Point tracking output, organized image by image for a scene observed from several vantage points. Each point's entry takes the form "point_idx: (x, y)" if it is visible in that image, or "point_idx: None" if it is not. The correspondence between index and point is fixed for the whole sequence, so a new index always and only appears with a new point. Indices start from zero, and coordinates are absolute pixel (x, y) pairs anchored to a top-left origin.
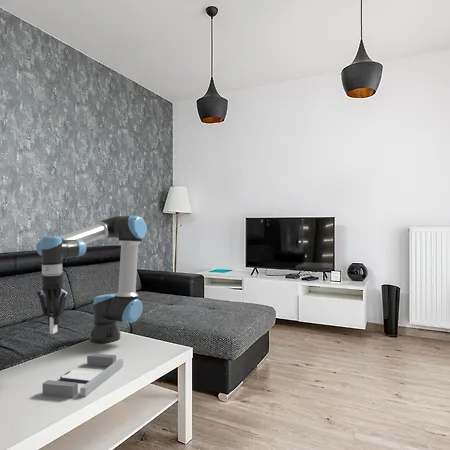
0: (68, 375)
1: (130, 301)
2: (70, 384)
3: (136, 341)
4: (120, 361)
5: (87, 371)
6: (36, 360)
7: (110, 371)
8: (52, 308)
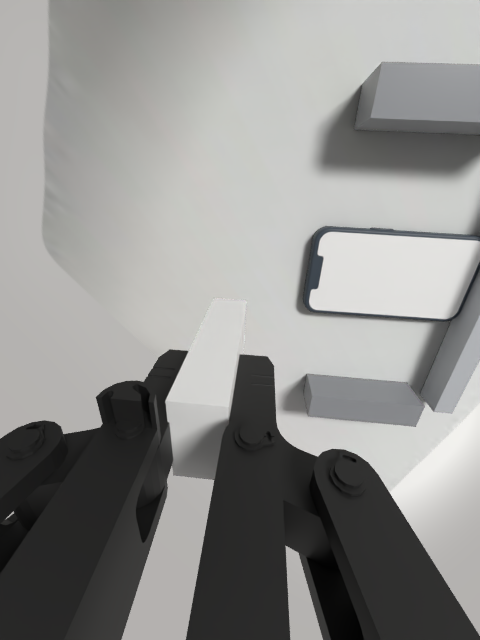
0: (331, 291)
1: None
2: (403, 416)
3: None
4: None
5: (396, 241)
6: (59, 108)
7: None
8: (98, 605)
